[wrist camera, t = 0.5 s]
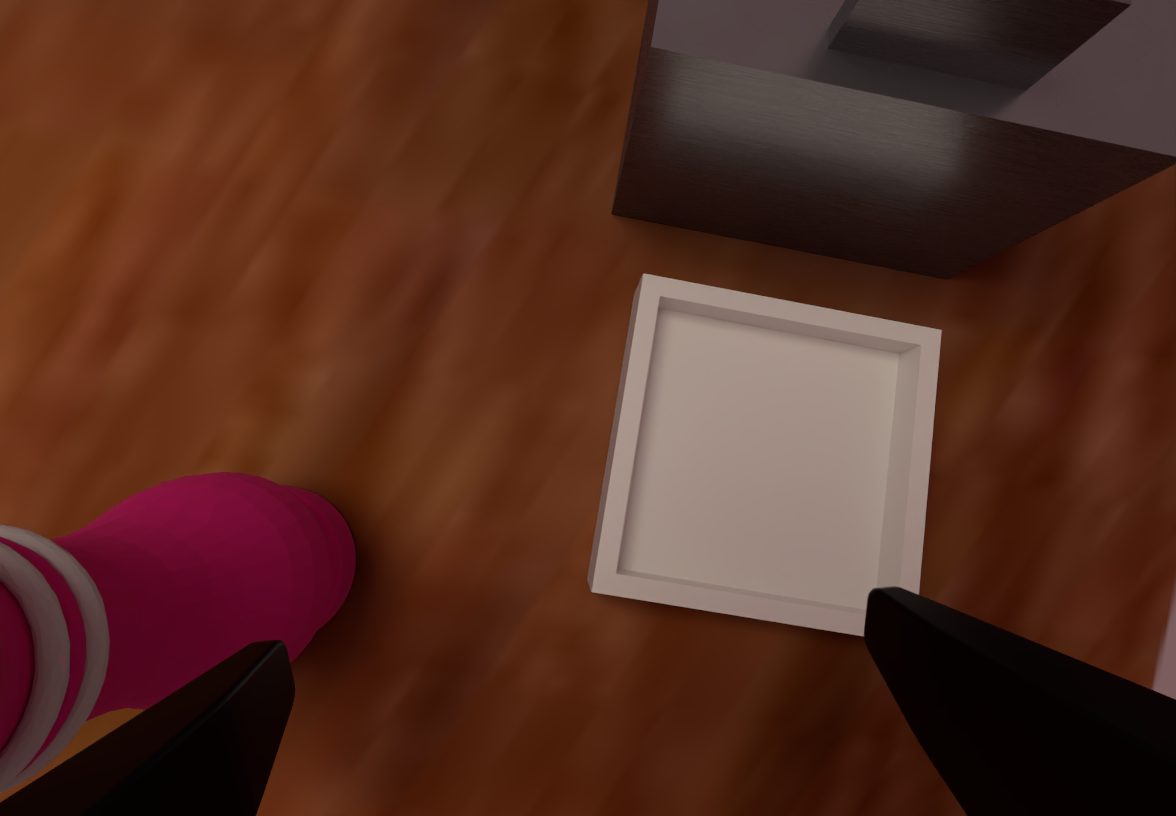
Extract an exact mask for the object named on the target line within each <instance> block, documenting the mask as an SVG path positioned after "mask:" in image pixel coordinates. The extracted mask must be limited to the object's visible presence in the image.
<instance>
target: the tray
mask: <svg viewBox="0 0 1176 816" xmlns="http://www.w3.org/2000/svg"><path fill="white" fill-rule="evenodd" d="M940 342H941V330H939V329H933V328H928V327H923V326H917V325H912V324H907V323H902V322H896V321H891V320H886V319H881V318H875V317H870V316H865V315H860V314H854V313H849V312H844V311H839V310H833V309H828V308H823V307H818V306H812V305H807V304H802V303H797V302H791V301H786V300H781V299H775V298H770V297H765V296H760V295H754V294H749V293H744V292H739V291H733V290H728V289H723V288H718V287H712V286H707V285H702V284H697V283H691V282H686V281H681V280H676V279H670V278H665V277H660V276H655V275H649V274H644V273H643V276H642V278H641V280H640V282H639V284H638V287H637V289H636V291H635V293H634V298H633V304H632V310H631V316H630V322H629V328H628V335H627V341H626V347H625V353H624V359H623V365H622V371H621V377H620V383H619V389H618V395H617V401H616V407H615V413H614V419H613V426H612V432H611V438H610V444H609V450H608V456H607V462H606V468H605V474H604V480H603V486H602V492H601V498H600V504H599V510H598V516H597V523H596V529H595V535H594V541H593V547H592V553H591V559H590V565H589V571H588V577H587V582H588V584H589V587H590V590H591V592H594V593H600V594H607V595H613V596H619V597H625V598H631V599H637V600H643V601H649V602H656V603H662V604H668V605H674V606H680V607H686V608H692V609H699V610H705V611H711V612H717V613H723V614H729V615H735V616H741V617H748V618H754V619H760V620H766V621H772V622H778V623H784V624H791V625H797V626H803V627H809V628H815V629H821V630H827V631H834V632H840V633H846V634H852V635H858V636H864V626H865V617H866V607H867V598H868V594H869V592H870V591H871V590H872V589H873V588H880V587H891V586H897V587H901V588H903V589H906V590H908V591H911V592H913V593H915V594H918V595H919V587H920V575H921V563H922V552H923V540H924V528H925V517H926V505H927V494H928V482H929V470H930V459H931V447H932V435H933V424H934V412H935V400H936V389H937V377H938V365H939V354H940Z"/></svg>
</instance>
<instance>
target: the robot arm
mask: <svg viewBox="0 0 1176 816" xmlns="http://www.w3.org/2000/svg"><path fill="white" fill-rule="evenodd" d="M864 639H865V643H866V646H867V649H868V651H869V653H870V654H871V656H872V658H873V660H874V662H875V664H876V665H877V667H878V669H879V671H880V673H881V675H882V677H883V678H884V680H885V682H886V684H887V686H888V688H889V689H890V691H891V693H892V695H893V697H894V699H895V700H896V702H897V704H898V706H899V708H900V710H901V712H902V713H903V715H904V717H905V719H906V721H907V723H908V724H909V726H910V728H911V730H912V731H913V733H914V735H915V736H916V738H917V740H918V742H919V743H920V745H921V746H922V748H923V749H924V751H925V753H926V754H927V756H928V757H929V759H930V760H931V762H932V763H933V765H934V766H935V768H936V769H937V771H938V772H939V774H940V775H941V777H942V778H943V780H944V781H945V783H946V784H947V786H948V787H949V789H950V790H951V792H952V793H953V795H954V796H955V798H956V799H957V801H958V802H959V804H960V805H961V807H962V808H963V810H964V811H965V813H966V814H967V816H1176V700H1175V699H1173V698H1170V697H1168V696H1165V695H1163V694H1160V693H1158V692H1156V691H1153V690H1151V689H1148V688H1146V687H1143V686H1141V685H1139V684H1136V683H1134V682H1131V681H1129V680H1126V679H1124V678H1121V677H1119V676H1116V675H1114V674H1112V673H1109V672H1107V671H1104V670H1102V669H1099V668H1097V667H1094V666H1092V665H1090V664H1087V663H1085V662H1082V661H1080V660H1077V659H1075V658H1072V657H1070V656H1067V655H1065V654H1063V653H1060V652H1058V651H1055V650H1053V649H1050V648H1048V647H1045V646H1043V645H1040V644H1038V643H1036V642H1033V641H1031V640H1028V639H1026V638H1023V637H1021V636H1018V635H1016V634H1014V633H1011V632H1009V631H1006V630H1004V629H1001V628H999V627H996V626H994V625H991V624H989V623H987V622H984V621H982V620H979V619H977V618H974V617H972V616H969V615H967V614H965V613H962V612H960V611H957V610H955V609H952V608H950V607H947V606H945V605H942V604H940V603H938V602H935V601H933V600H930V599H928V598H925V597H923V596H920V595H918V594H915V593H913V592H911V591H908V590H906V589H903V588H901V587H897V586H891V587H880V588H873V589H872V590H871V591H870V592H869V594H868V598H867V607H866V617H865V626H864ZM294 697H295V684H294V679H293V674H292V669H291V665H290V660H289V655H288V650H287V647H286V645H285V643H284V642H283V641H281V640H267V641H256V642H252V643H250V644H248V645H247V646H245V647H244V648H242V649H241V650H239V651H237V652H236V653H234V654H233V655H231V656H230V657H228V658H226V659H225V660H223V661H222V662H220V663H219V664H217V665H215V666H214V667H212V668H211V669H209V670H208V671H206V672H204V673H203V674H201V675H200V676H198V677H197V678H195V679H193V680H192V681H190V682H189V683H187V684H186V685H184V686H183V687H181V688H179V689H178V690H176V691H175V692H173V693H172V694H170V695H168V696H167V697H165V698H164V699H162V700H161V701H159V702H157V703H156V704H154V705H153V706H151V707H150V708H148V709H146V710H145V711H143V712H142V713H140V714H139V715H137V716H135V717H134V718H132V719H131V720H129V721H128V722H126V723H124V724H123V725H121V726H120V727H118V728H117V729H115V730H113V731H112V732H110V733H109V734H107V735H106V736H104V737H102V738H101V739H99V740H98V741H96V742H95V743H93V744H91V745H90V746H88V747H87V748H85V749H84V750H82V751H80V752H79V753H77V754H76V755H74V756H73V757H71V758H69V759H68V760H66V761H65V762H63V763H62V764H60V765H58V766H57V767H55V768H54V769H52V770H51V771H49V772H48V773H46V774H44V775H43V776H41V777H40V778H38V779H37V780H35V781H33V782H32V783H30V784H29V785H27V786H26V787H24V788H22V789H21V790H19V791H18V792H16V793H15V794H13V795H11V796H10V797H8V798H7V799H5V800H4V801H2V802H0V816H256V814H257V811H258V808H259V805H260V803H261V800H262V797H263V794H264V791H265V788H266V785H267V782H268V779H269V776H270V773H271V770H272V767H273V764H274V761H275V758H276V755H277V752H278V749H279V746H280V742H281V739H282V736H283V733H284V730H285V727H286V724H287V721H288V718H289V715H290V712H291V709H292V706H293V702H294Z"/></svg>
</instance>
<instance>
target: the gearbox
mask: <svg viewBox="0 0 1176 816" xmlns="http://www.w3.org/2000/svg"><path fill="white" fill-rule="evenodd" d="M1175 164H1176V0H649V1H648V7H647V13H646V19H645V24H644V30H643V36H642V42H641V47H640V53H639V59H638V65H637V70H636V76H635V82H634V88H633V93H632V99H631V105H630V110H629V116H628V122H627V128H626V133H625V139H624V145H623V151H622V156H621V162H620V168H619V174H618V179H617V185H616V191H615V197H614V202H613V208H612V214H615V215H620V216H625V217H630V218H635V219H641V220H646V221H651V222H656V223H661V224H666V225H671V226H677V227H682V228H687V229H692V230H697V231H702V232H707V233H713V234H718V235H723V236H728V237H733V238H738V239H743V240H749V241H754V242H759V243H764V244H769V245H774V246H779V247H785V248H790V249H795V250H800V251H805V252H810V253H815V254H821V255H826V256H831V257H836V258H841V259H846V260H851V261H856V262H862V263H867V264H872V265H877V266H882V267H887V268H892V269H898V270H903V271H908V272H913V273H918V274H923V275H928V276H934V277H939V278H944V279H949V278H951V277H953V276H955V275H957V274H959V273H961V272H963V271H965V270H966V269H968V268H970V267H972V266H974V265H976V264H978V263H980V262H982V261H984V260H986V259H988V258H990V257H992V256H994V255H996V254H998V253H1000V252H1002V251H1004V250H1006V249H1008V248H1010V247H1012V246H1014V245H1016V244H1018V243H1020V242H1022V241H1024V240H1026V239H1028V238H1030V237H1032V236H1034V235H1036V234H1038V233H1040V232H1042V231H1044V230H1046V229H1048V228H1050V227H1052V226H1054V225H1056V224H1058V223H1060V222H1062V221H1064V220H1066V219H1068V218H1070V217H1072V216H1074V215H1075V214H1077V213H1079V212H1081V211H1083V210H1085V209H1087V208H1089V207H1091V206H1093V205H1095V204H1097V203H1099V202H1101V201H1103V200H1105V199H1107V198H1109V197H1111V196H1113V195H1115V194H1117V193H1119V192H1121V191H1123V190H1125V189H1127V188H1129V187H1131V186H1133V185H1135V184H1137V183H1139V182H1141V181H1143V180H1145V179H1147V178H1149V177H1151V176H1153V175H1155V174H1157V173H1159V172H1161V171H1163V170H1165V169H1167V168H1169V167H1171V166H1173V165H1175Z"/></svg>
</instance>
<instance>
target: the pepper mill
mask: <svg viewBox="0 0 1176 816" xmlns="http://www.w3.org/2000/svg"><path fill="white" fill-rule="evenodd" d="M355 566H356V552H355V545H354V540H353V537H352V534H351V531H350V529H349V527H348V525H347V523H346V521H345V520H344V518H343V517H342V515H341V514H340V513H339V512H338V510H337V509H336V508H335V507H334V506H333V505H332V504H331V503H329V502H328V501H327V500H325V499H324V498H322V497H321V496H319V495H317V494H315V493H312V492H310V491H307V490H305V489H302V488H297V487H292V486H280V485H278V484H276V483H274V482H272V481H269V480H267V479H265V478H261V477H258V476H254V475H249V474H243V473H231V472H220V473H211V474H202V475H193V476H185V477H181V478H178V479H174V480H170V481H167V482H163V483H161V484H158V485H156V486H154V487H151V488H149V489H146V490H144V491H142V492H139V493H137V494H135V495H133V496H131V497H129V498H127V499H125V500H123V501H122V502H120V503H119V504H117V505H116V506H114V507H113V508H112V509H110V510H109V511H107V512H106V513H104V514H103V515H102V516H100V517H99V518H97V519H96V520H94V521H93V522H92V523H90V524H89V525H87V526H85V527H84V528H82V529H80V530H78V531H76V532H73V533H71V534H69V535H66V536H64V537H60V538H56V539H51V540H50V539H47V538H45V537H43V536H40V535H38V534H36V533H34V532H31V531H28V530H25V529H22V528H18V527H12V526H6V525H0V793H2V792H4V791H6V790H8V789H10V788H12V787H14V786H17V785H18V784H20V783H22V782H23V781H25V780H26V779H28V778H30V777H31V776H33V775H35V774H36V773H38V772H39V771H40V770H41V769H43V768H44V767H45V766H46V765H47V764H48V763H50V762H51V761H52V760H53V759H54V758H55V757H57V756H58V755H59V754H60V752H61V751H62V750H63V749H64V748H65V747H66V746H67V745H68V744H69V743H70V742H71V741H72V739H73V738H74V737H75V735H76V734H77V733H78V731H79V730H80V728H81V727H82V726H83V724H84V723H85V721H87V720H90V719H92V718H95V717H97V716H99V715H102V714H104V713H107V712H109V711H114V710H118V709H123V708H132V709H145V710H146V709H148V708H150V707H151V706H153V705H154V704H156V703H157V702H159V701H161V700H162V699H164V698H165V697H167V696H168V695H170V694H172V693H173V692H175V691H176V690H178V689H179V688H181V687H183V686H184V685H186V684H187V683H189V682H190V681H192V680H193V679H195V678H197V677H198V676H200V675H201V674H203V673H204V672H206V671H208V670H209V669H211V668H212V667H214V666H215V665H217V664H219V663H220V662H222V661H223V660H225V659H226V658H228V657H230V656H231V655H233V654H234V653H236V652H237V651H239V650H241V649H242V648H244V647H245V646H247V645H248V644H250V643H252V642H256V641H267V640H281V641H283V642H284V643H285V645H286V647H287V650H288V655H289V660H290V663H291V662H293V661H294V660H295V659H296V658H297V657H298V656H299V654H300V653H301V652H302V651H303V650H304V648H305V647H306V646H307V645H308V644H309V642H310V641H311V640H312V638H313V636H314V634H315V633H316V631H317V630H318V629H320V628H321V627H323V626H324V625H325V624H326V623H327V622H328V621H329V620H330V619H332V617H333V616H334V615H335V614H336V613H337V612H338V610H339V609H340V607H341V606H342V604H343V603H344V601H345V599H346V597H347V595H348V593H349V591H350V588H351V585H352V583H353V579H354V574H355Z"/></svg>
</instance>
